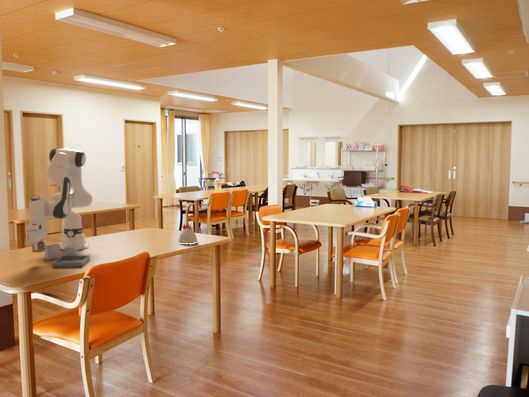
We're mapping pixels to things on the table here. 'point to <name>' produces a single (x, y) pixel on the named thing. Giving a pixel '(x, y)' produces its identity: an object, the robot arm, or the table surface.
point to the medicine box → (52, 251)
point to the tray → (70, 261)
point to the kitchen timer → (187, 235)
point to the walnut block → (40, 246)
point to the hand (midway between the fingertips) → (38, 248)
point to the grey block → (71, 250)
